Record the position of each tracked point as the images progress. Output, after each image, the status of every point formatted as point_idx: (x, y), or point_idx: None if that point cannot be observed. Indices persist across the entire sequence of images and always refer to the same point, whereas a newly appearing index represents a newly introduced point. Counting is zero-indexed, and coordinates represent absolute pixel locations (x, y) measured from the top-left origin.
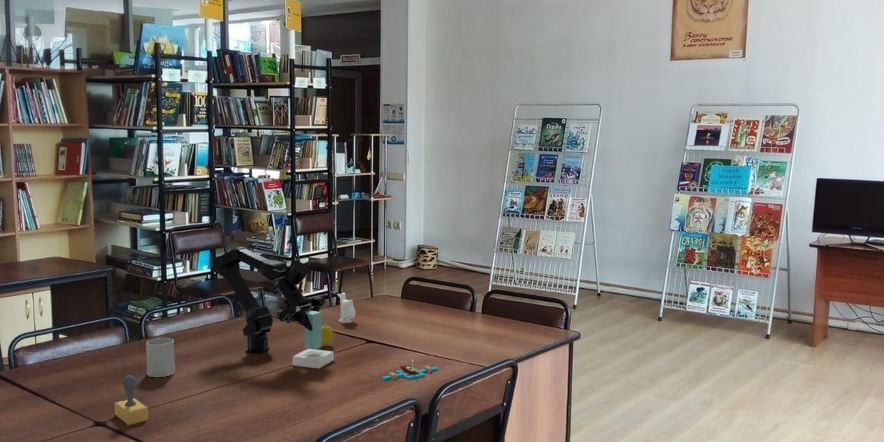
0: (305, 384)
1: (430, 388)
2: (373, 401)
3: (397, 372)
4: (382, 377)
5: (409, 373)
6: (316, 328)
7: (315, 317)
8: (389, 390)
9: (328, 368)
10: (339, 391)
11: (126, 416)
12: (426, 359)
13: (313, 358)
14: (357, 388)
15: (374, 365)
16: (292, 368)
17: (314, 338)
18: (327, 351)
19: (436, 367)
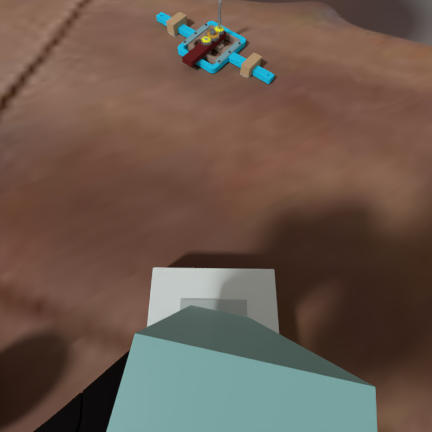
0: (410, 232)
1: (276, 3)
2: (397, 56)
3: (219, 67)
4: (269, 80)
5: (220, 43)
6: (237, 325)
7: (282, 351)
8: (326, 52)
9: (250, 242)
10: (394, 131)
11: None
12: (88, 51)
13: (268, 299)
14: (353, 106)
15: (173, 135)
16: None
17: (250, 322)
18: (156, 294)
19: (158, 14)
